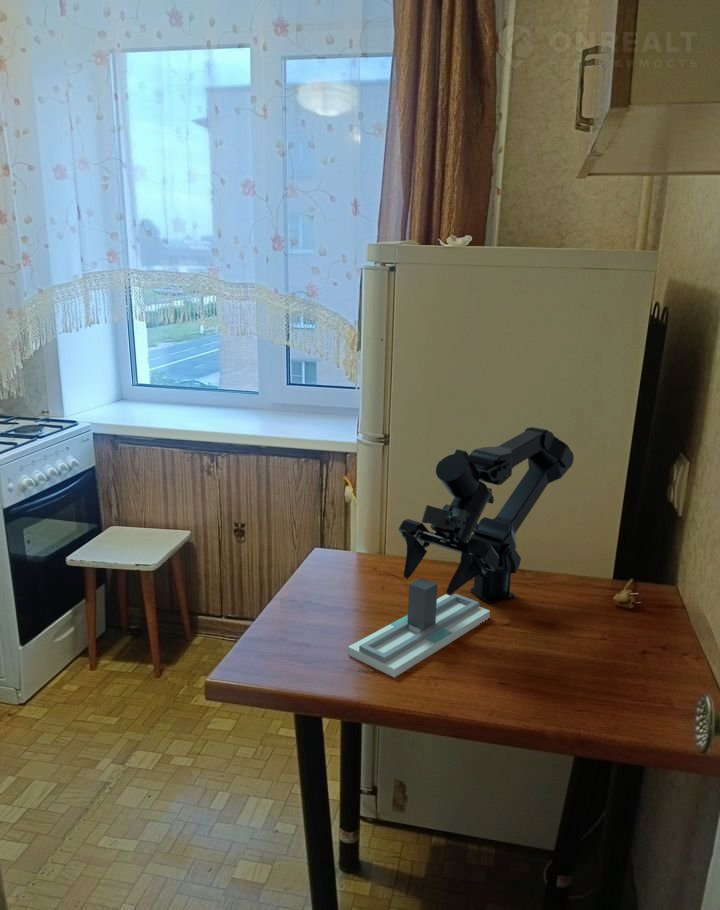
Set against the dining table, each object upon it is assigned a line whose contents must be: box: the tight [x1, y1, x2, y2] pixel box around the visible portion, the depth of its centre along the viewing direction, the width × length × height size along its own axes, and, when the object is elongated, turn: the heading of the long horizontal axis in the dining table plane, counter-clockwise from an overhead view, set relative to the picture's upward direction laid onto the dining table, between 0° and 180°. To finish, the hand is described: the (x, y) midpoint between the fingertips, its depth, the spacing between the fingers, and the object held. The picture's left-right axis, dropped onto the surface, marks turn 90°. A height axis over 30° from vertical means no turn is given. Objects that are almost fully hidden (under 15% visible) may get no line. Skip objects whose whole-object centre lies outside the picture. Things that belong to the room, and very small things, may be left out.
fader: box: [407, 577, 439, 633], centre depth 127 cm, size 4×4×8 cm
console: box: [347, 592, 491, 679], centre depth 128 cm, size 28×10×2 cm, turn 138°
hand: (426, 585), depth 126 cm, fingers open, 9 cm apart
